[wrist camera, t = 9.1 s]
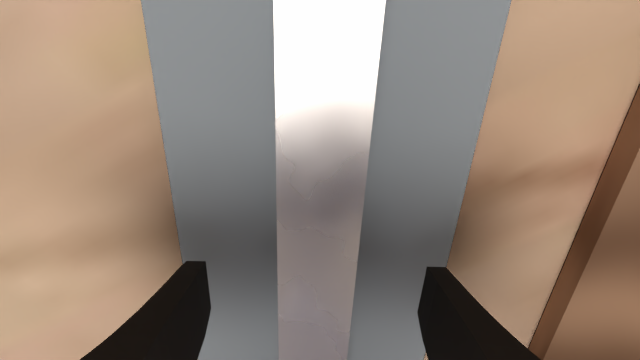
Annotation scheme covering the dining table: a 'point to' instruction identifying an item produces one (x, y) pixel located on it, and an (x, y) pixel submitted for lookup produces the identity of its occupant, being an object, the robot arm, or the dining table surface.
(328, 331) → the steel rail
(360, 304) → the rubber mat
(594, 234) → the wooden stand
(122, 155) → the dining table surface
